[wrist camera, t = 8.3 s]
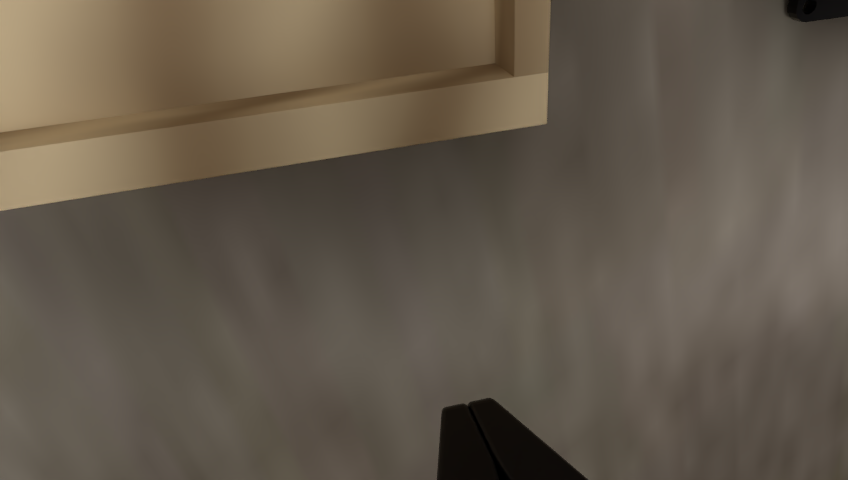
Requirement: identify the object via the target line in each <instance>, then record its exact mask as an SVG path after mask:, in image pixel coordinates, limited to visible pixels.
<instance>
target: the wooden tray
mask: <svg viewBox="0 0 848 480" xmlns="http://www.w3.org/2000/svg"><path fill="white" fill-rule="evenodd" d="M550 9H551V0H0V211H3V210H9V209H15V208H22V207H28V206H34V205H41V204H47V203H53V202H59V201H66V200H72V199H78V198H84V197H91V196H97V195H103V194H110V193H116V192H122V191H128V190H135V189H141V188H147V187H154V186H160V185H166V184H172V183H179V182H185V181H191V180H197V179H204V178H210V177H216V176H223V175H229V174H235V173H241V172H248V171H254V170H260V169H266V168H273V167H279V166H285V165H292V164H298V163H304V162H310V161H317V160H323V159H329V158H335V157H342V156H348V155H354V154H361V153H367V152H373V151H379V150H386V149H392V148H398V147H404V146H411V145H417V144H423V143H430V142H436V141H442V140H448V139H455V138H461V137H467V136H474V135H480V134H486V133H492V132H499V131H505V130H511V129H517V128H524V127H530V126H536V125H543V124H547V102H548V71H549V40H550Z"/></svg>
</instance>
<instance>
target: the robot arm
mask: <svg viewBox="0 0 848 480" xmlns="http://www.w3.org/2000/svg"><path fill="white" fill-rule="evenodd" d="M806 1H807V6H806V8H805V9H804V10H803V6H804V4H805V3H806ZM788 14H789V17H790V18H792V19H793V20H797V21H801V22H810V21H817V20H824V19H831V18H838V17H845V16H848V0H789V4H788ZM437 480H588V479H587V478H586V477H584V476H583V475H582V474H581V473H580V472H579V471H577V470H576V469H575V468H574V467H573V466H571V465H570V464H569V463H568V462H567V461H566V460H564V459H563V458H562V457H561V456H560V455H559V454H557V453H556V452H555V451H554V450H553V449H552V448H550V447H549V446H548V445H547V444H546V443H544V442H543V441H542V440H541V439H540V438H539V437H537V436H536V435H535V434H534V433H533V432H532V431H530V430H529V429H528V428H527V427H526V426H525V425H523V424H522V423H521V422H520V421H519V420H517V419H516V418H515V417H514V416H513V415H512V414H510V413H509V412H508V411H507V410H506V409H505V408H503V407H502V406H501V405H500V404H499V403H498V402H496V401H495V400H494V399H491V398H486V399H481V400H477V401H472V402H470V403H469V404H468V405H466V404H458V405H453V406H448V407H445V408H443V410H442V414H441V429H440V443H439V457H438V471H437Z"/></svg>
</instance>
